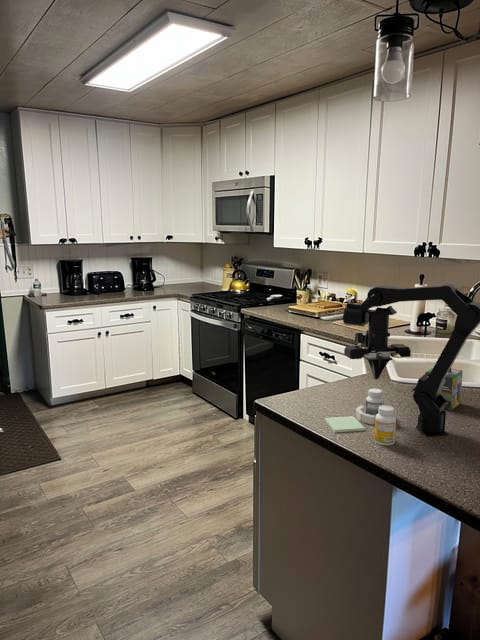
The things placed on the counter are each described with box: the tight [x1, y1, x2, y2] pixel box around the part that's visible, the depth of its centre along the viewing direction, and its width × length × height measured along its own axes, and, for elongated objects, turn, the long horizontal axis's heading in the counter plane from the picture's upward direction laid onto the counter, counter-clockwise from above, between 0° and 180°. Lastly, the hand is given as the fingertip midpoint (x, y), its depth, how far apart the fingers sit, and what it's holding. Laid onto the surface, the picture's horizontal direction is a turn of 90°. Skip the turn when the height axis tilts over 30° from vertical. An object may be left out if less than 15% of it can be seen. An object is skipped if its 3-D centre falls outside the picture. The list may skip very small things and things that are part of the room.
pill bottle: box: [365, 388, 385, 417], centre depth 145 cm, size 5×5×9 cm
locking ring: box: [355, 405, 375, 426], centre depth 146 cm, size 10×10×2 cm
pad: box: [324, 415, 366, 434], centre depth 141 cm, size 9×9×1 cm
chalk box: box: [424, 360, 463, 412], centre depth 156 cm, size 9×9×15 cm
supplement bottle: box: [373, 404, 397, 446], centre depth 129 cm, size 5×5×10 cm
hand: (375, 379), depth 144 cm, fingers closed
